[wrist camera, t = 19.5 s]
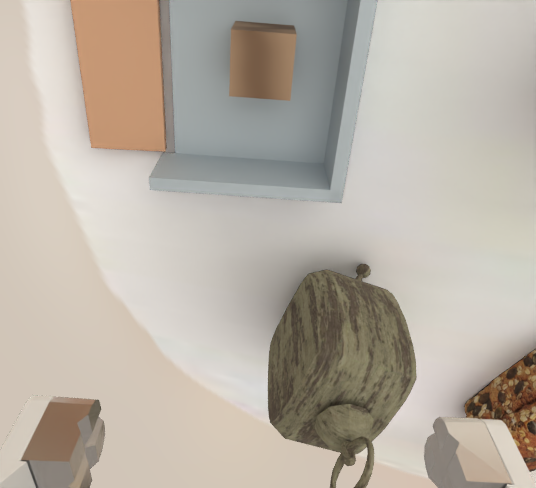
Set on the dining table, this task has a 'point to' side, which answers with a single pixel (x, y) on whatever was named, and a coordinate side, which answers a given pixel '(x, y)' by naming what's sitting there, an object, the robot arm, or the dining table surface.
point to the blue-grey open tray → (265, 102)
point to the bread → (512, 405)
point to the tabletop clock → (339, 366)
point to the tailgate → (121, 72)
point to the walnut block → (262, 60)
